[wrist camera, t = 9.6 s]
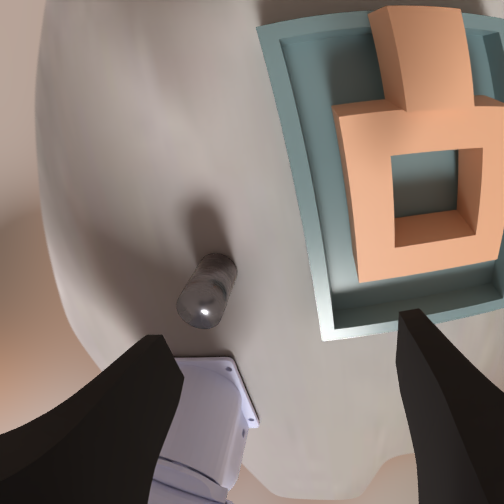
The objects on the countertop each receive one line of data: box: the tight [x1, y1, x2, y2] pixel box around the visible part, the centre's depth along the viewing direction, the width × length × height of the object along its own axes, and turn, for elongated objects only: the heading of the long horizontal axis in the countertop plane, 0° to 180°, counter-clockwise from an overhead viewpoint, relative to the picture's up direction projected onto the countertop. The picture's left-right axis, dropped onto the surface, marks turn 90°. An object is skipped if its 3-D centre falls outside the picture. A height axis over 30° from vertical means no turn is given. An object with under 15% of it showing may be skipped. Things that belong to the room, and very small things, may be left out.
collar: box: [331, 6, 504, 283], centre depth 11 cm, size 12×8×3 cm, turn 14°
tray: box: [256, 10, 504, 341], centre depth 14 cm, size 17×13×2 cm
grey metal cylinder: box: [177, 254, 237, 329], centre depth 18 cm, size 2×2×4 cm
